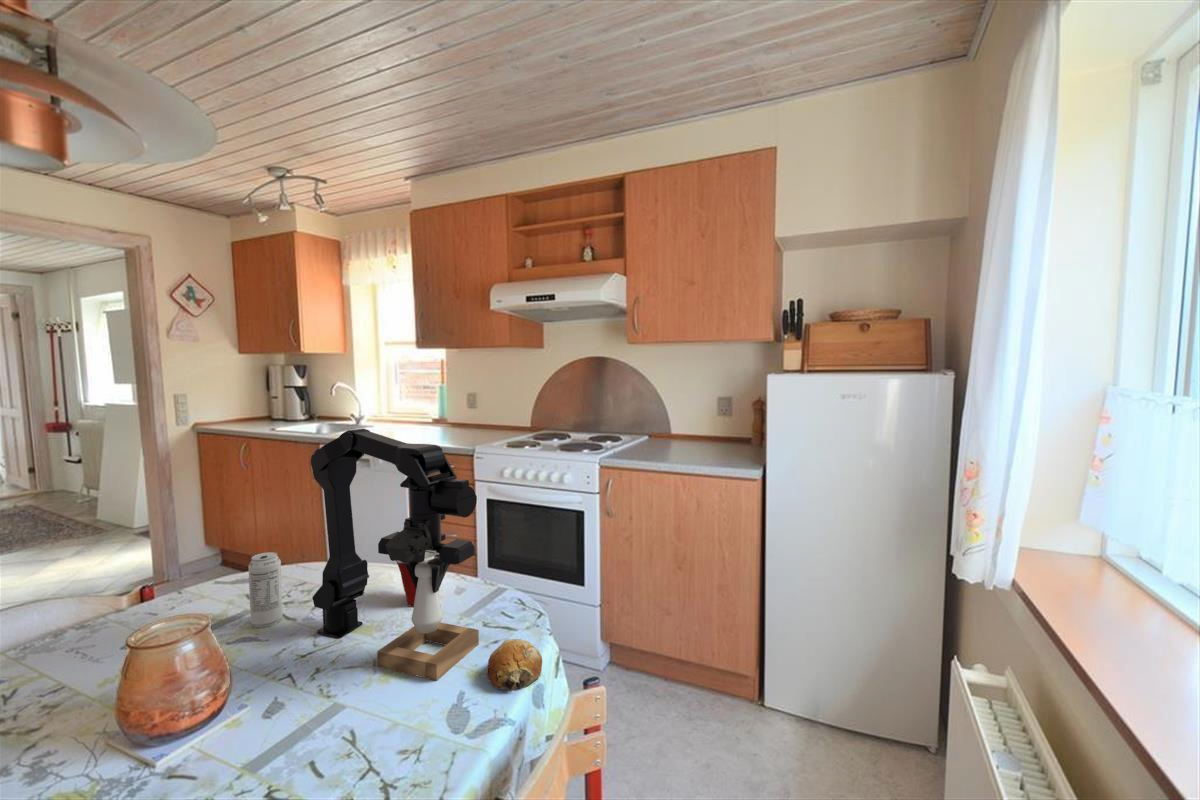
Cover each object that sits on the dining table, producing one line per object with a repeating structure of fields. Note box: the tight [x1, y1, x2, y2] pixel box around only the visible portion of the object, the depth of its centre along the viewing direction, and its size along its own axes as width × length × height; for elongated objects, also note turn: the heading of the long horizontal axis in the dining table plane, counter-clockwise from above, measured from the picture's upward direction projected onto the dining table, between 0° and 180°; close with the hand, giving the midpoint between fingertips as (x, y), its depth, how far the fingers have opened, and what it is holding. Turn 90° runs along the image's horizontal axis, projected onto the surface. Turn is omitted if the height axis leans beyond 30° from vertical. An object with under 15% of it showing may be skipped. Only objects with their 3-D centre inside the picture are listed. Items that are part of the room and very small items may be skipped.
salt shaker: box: [411, 561, 444, 634], centre depth 101 cm, size 6×6×13 cm
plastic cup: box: [394, 552, 434, 608], centre depth 125 cm, size 11×11×12 cm
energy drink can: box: [247, 551, 284, 629], centre depth 115 cm, size 6×6×15 cm
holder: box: [376, 621, 480, 681], centre depth 102 cm, size 13×13×3 cm
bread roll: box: [486, 638, 543, 691], centre depth 95 cm, size 10×10×8 cm
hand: (426, 590), depth 101 cm, fingers closed on salt shaker, 4 cm apart
